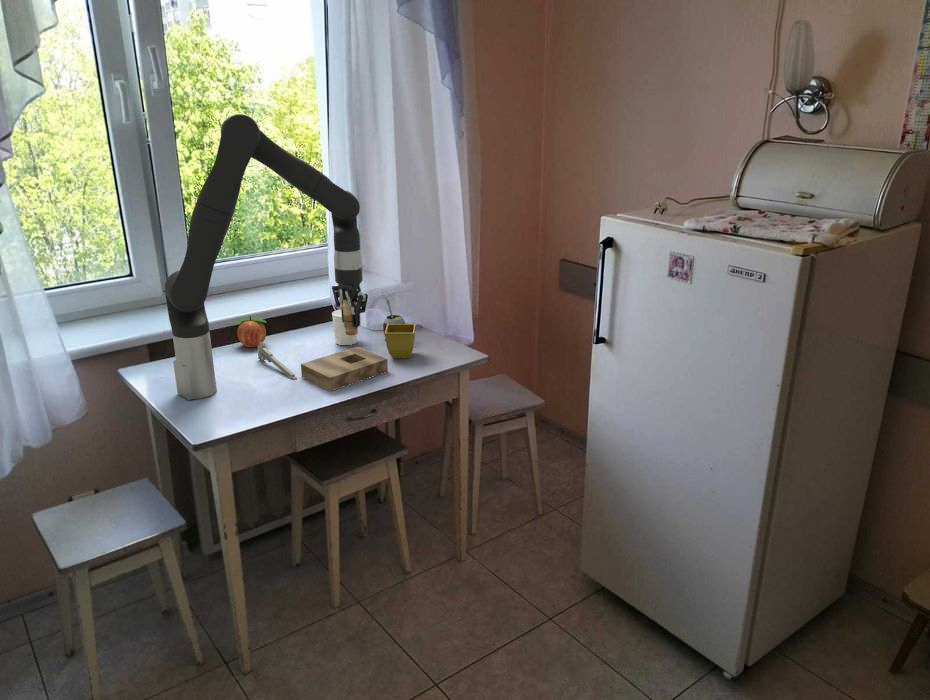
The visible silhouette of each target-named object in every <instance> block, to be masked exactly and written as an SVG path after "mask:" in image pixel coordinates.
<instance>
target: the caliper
mask: <svg viewBox="0 0 930 700" xmlns="http://www.w3.org/2000/svg"><path fill="white" fill-rule="evenodd" d="M257 357H258V360H259V359H261V360H262V361H264V360H265V361H267V362H268V363H272V364H273V365H274V366H275V367H277V368H278V370H280V371H281V372H282V373H283V374H284V375H285V376H287V377H288V376H289V377H291V378H292V379H291V378H290V379H291V380H293V379H295V380H297V379H298V378H297V376H295V375H296V374H295V373H294V372H292V371H291V369H289V368H288V367H287V366H285V365H284V364H283V363H282V362H281V361H280V360H279V359H278V358H276V357H275V356H274V355H273V353H272V352H271V351H270V350H269V349H268V348H266V347H265V343H264V342H263V343H262V342H259V345H258V346H257ZM261 360H260V361H261ZM289 377H288V378H289Z"/></svg>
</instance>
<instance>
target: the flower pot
mask: <svg viewBox="0 0 930 700" xmlns="http://www.w3.org/2000/svg"><path fill="white" fill-rule="evenodd" d="M415 336H416V323H405V324H387V327H386V330H385V335H384V338H385V339H386V341H385V343H386V344H385V345H386V348H387V351H388V354H389V355H390V357H391V358H392V359H409V358H410V357H411V356H412V353H413V350H414V344H415V339H416V337H415Z"/></svg>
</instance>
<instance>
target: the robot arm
mask: <svg viewBox="0 0 930 700" xmlns="http://www.w3.org/2000/svg"><path fill="white" fill-rule="evenodd" d="M251 158H252V159H253V160H256V161H257V162H259V163H260V164H262V165H264V166H266V167H267V168H268V169H270V170H271V171H272V172H274V173H276V174H277V175H278V176H280V177H281V178H282V179H283V180H285V181H286V182H287V183H288V184H290V185H291V186H293V187H294V188H295V189H297V190H298V191H300V192H302V194H304V195H305V196H307V197H308V198H310V199H312V200H314V201H315V202H318V203H319V204H320V205H321V206H322V207H324V208H325V209H326V210H327V211H329V212H330V213H331V219H332V226H333V247H334V248H333V249H334V252H333V263H334V264H333V265H334V267H333V268H334V279H335V280H334V281H335V283H336V285H332V286H331V290H332V294H333V298H334V304H335V306H336V308H339V310H341V313H342V322H343V323H344V313H343V300H347V301H348V304H349V307H351V311H352V326H353V327H358V326H359V327H360V326H361V314H363V313H365V312H366V309H367V304H368V297H369V295H368V294H367V293H363V292H362V289H361V285H360V284H361V283H362V282H363V277H364V276H363V262H362V261H363V260H362V259H363V258H362V252H361V237H360V236H361V235H360V231H359V229H358V220H357V219H358V218H357V217H358V215H359V213H360V210H361V206H360V201H359V200H358V199H357V197H356V196H355V195H354V194H353V193H352V192H350V191H348V190H345V189H344V188H342V187H341V186H339V185H337V184H336V183H334V182H333V181H332V179H330V178H329V177H328V176H327V175H325V174H324V173H323V172H321V171H319V170H318V169H317V168H315V167H314V166H312V165H311V164H309V163H307V162H306V161H305V160H304V159H302V158H300V157H298V156H296V155H294V154H293V153H291V152H290V151H288V150H286V149H284V148H283V147H282V146H280V145H279V144H277V143H276V142H275V141H273V140H272V139H271V138H270V137H268V135H266V134H265V133H264V132H263V131H262V130H261V129H260V127H259V125H258V123H257V121H255V120H254V118H252V117H251V116H249V115H248V114H243V113H234V114H232V115H229V116H228V117H227V118H225V119H224V121H222V124H221V127H220V139H219V143H218V148H217V152H216V157H215V160H214V163H213V165H212V168H211V170H210V172H209V174H208V175H207V177H206V179H205V181H204V183H203V185H202V186H201V188H200V192H199V193H198V196H197V198H196V201H195V205H194V207H193V210H192V213H191V216H190V220H189V221H190V222H189V227H188V233H187V245H186V251H185V252H186V253H185V255H184V259H183V262H182V264H181V266H180V268H179V270H176V271H174V272H172V273H171V274H170V275H169V276H168V277H167V279H166V281H165V283H164V295H165V301H166V308H167V313H168V320H169V325H170V328H171V335H172V340H173V341H172V342H173V349H174V355H175V356H174V357H175V360H173V362H172V363H173V369H174V371H173V372H174V376H175V384H176V392H177V395H179V396H180V397H182V398H183V399H185V400H187V401H190V400H199V399H204V398H209V397H211V396H213V395H214V394H215V393H216V392H217V380H216V374H215V373H216V372H215V365H214V356H213V348H212V342H211V341H212V340H211V333H210V324H209V320H208V315H207V312H206V306H205V301H206V300H207V297H208V293H209V287H210V283H211V279H212V274H213V270H214V266H215V263H216V260H217V258H218V256H219V253H220V251H221V249H222V246H223V244H224V241H225V239H226V235H227V233H228V231H229V228H230V225H231V222H232V219H233V217H234V214H235V210H236V206H237V205H238V203H237V202H238V199H239V196H240V192H241V187H242V182H243V178H244V175H245V173H246V170H247V167H248V165H249V163H250V160H251ZM354 301H357V302H356V303H352V302H354ZM355 306H356V310H355ZM359 327H358V328H359Z"/></svg>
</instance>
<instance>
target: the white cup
mask: <svg viewBox="0 0 930 700" xmlns="http://www.w3.org/2000/svg"><path fill="white" fill-rule="evenodd" d="M331 315H332V316H331V317H332V325H333V327H332V328H333V333H334V339H335V344H336V343H337V344H339V345H338V346H340V345H351V346H353V345H352V344H354V345H356V344H357V343H358V334H356V335H346V330H345V328H344V323H343V322H342V313H341V310H340V309H337V310H334V311H332V312H331ZM355 343H356V344H355ZM337 344H336V345H337Z"/></svg>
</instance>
